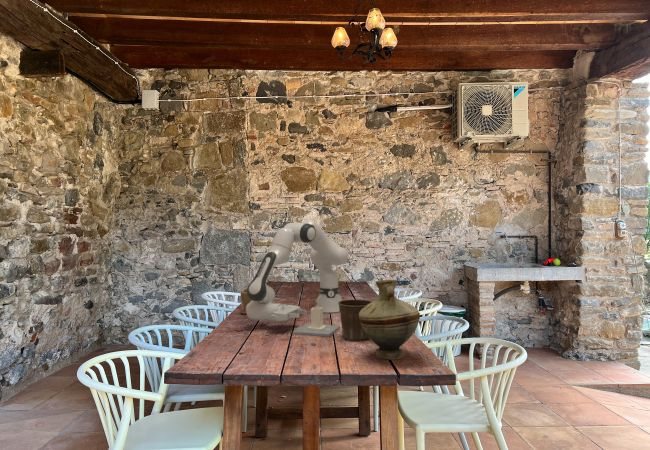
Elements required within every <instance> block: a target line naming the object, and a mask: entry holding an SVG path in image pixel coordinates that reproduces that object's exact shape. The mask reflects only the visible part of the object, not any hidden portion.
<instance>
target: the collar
mask: <svg viewBox="0 0 650 450" xmlns="http://www.w3.org/2000/svg"><path fill="white" fill-rule="evenodd" d="M310 324H311V326H309V327H308V328H307V330H315V331H323V330H324V329H325V328H327V325H328V324H324V312H323V308H322V307H315V306H314V307H312V308H310Z"/></svg>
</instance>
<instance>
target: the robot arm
mask: <svg viewBox="0 0 650 450" xmlns="http://www.w3.org/2000/svg"><path fill="white" fill-rule="evenodd" d="M294 243H304V244H307V243H308V245H309V246H310V247H311V251H310V252H309V257H310V260H311V262H312V263H313V264H314V265H315V267H316V269H317V270H318V273H319V274H318V275H319V283H320V284H319V290H318V291H319V295H318V296H317V298H316V299H315V305H314V307H322V308H323V313H340V310H339V304H338V302H340V301H343V300H342V298H343V297H342V295H340V287H339V275H338V273H337V272H336V271H335V270H334V269H333V267H332V266H341V265H344V264H346V263H347V262H348V260H349V252H348V250H347V249H346V248H344V247H342V246H340V245H338V244H337V243H336V242H334V241H333V240H331V239H330V237H328V236H327V235H326V233H325V231H323V229H322V228H321V226H320V225H319V224H318V223H317V222H316V221H315V220H313V219H309V218H308V219H305V220H304V221H302V222H285V223H283V224H282V225H281V226H280V228H279V229H278V230H277V232H276V233H275V235H274V237H273V239H272V241H271V244H270V247H269V249H268V251H267V253H266V254H265V255H264V257H263V259H262V261H261V262H260V265H259V267H258V268H257V269H258V270H257V272H256V274H255V276H254V277H253V279H252V280H251V281H250V283H249V284H248V285H247V288H246V289H247V295H248V297H249V298H250V299H251V300H252V301H251V302H250V303H249V304H247V306H246V313H247V314H246V316H247V317H248V318H249V319H251V320H255V321H269V322H277V323H279V322H281V321H288V320H290V319H298V318H300V314H302V315H306V314H307V310H306V309H302V308H301V307H300V306H298V305H294V304H287V303H274V302H275V299H276V298H275V297H276V292H275V290H274V288H272V287H271V286H270V285H267V283H268V282H267V281H268V279H269V277H270V274H271V272H272V270H273V268H274V267H275V266H277V265H282V264H284V263H286V262H287V261H288V259H289V257H290V255H291V252H292V249H293V246H294V245H293V244H294Z"/></svg>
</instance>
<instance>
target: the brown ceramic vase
mask: <svg viewBox="0 0 650 450" xmlns="http://www.w3.org/2000/svg"><path fill="white" fill-rule="evenodd" d="M375 284H376V287H377V288H378V296H377V299H375V300H373V301H372V302H371V303H370V304H368V305H367V306H365V307H364V308H363V309H362V310H361V311H360V312H359V320H360V323H361V326H362V328H363V330H364V332H365V333H366V334H367V336H368V337H369V338H368V339H369V340H370V341H372V342H373V344H375V345H376V346H377V347H378V348H377V349H376V350H375V356H376V357H377V358H379V359H383V360H389V361H390V360H391V361H395V359H396V360H401V359H403V358H404V357H405V351H404V349H401V347H402V346H404V344H405V343H406V342H407V341H409V339H411V337H412V336H413V334H415V332H416V331H417V328H418V326H419V322H420V319H421V313H420V311H419V309H417V308H416V307H415V306H414V305H413V304H410V303H409V302H406V301H404V300H402V299H399V298H397V297H395V291H396V290H395V289H396V287H397V284H398V280H397V279H384V280H377V281H375Z"/></svg>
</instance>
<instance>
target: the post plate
mask: <svg viewBox="0 0 650 450" xmlns="http://www.w3.org/2000/svg"><path fill="white" fill-rule="evenodd" d="M326 325H327V328H325V329H324V330H323V331H315V330H307V328H308V327H309V326H311V323H305V324H303V325H302V326H300V327H298V328H296V329H295V330H294V331H292V335H297V336H298V335H300V336H311V337H323V338H330V337H331V336H333V334H335V333H336V332H337V331H338V330H340V329H341V325H331V324H326Z"/></svg>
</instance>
